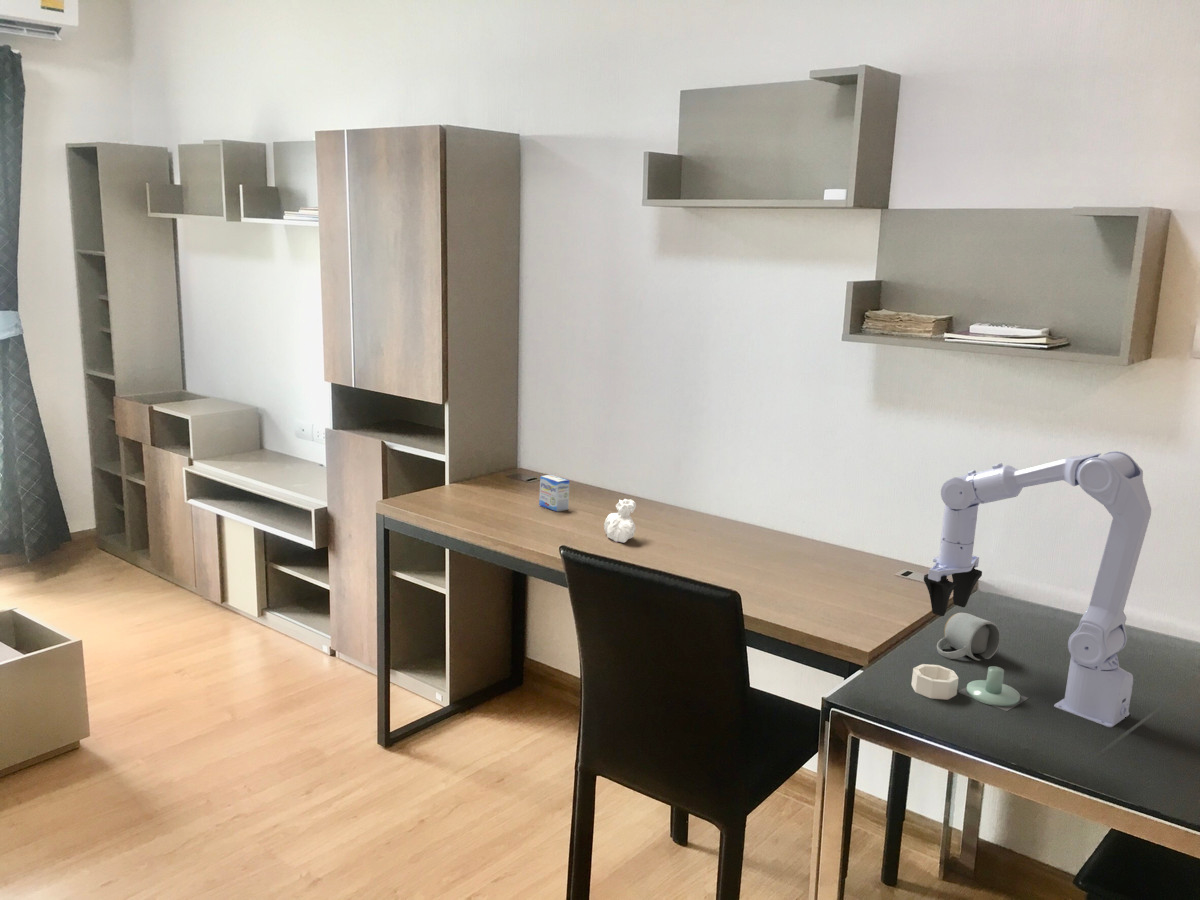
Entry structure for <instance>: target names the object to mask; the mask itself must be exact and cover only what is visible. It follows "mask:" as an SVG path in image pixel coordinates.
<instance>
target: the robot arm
mask: <svg viewBox="0 0 1200 900" xmlns="http://www.w3.org/2000/svg"><path fill="white" fill-rule="evenodd" d="M991 467H992V468H989V469H985V470H981V471H976V470H971V471H970V470H969V471H968V472H967V474H964V475H960V476H954V477H952V478H950V479H948V480H946V481H945V482H944V483H943V484H942V486H941V489H940V497H941V500H942V502H943V503H944V511H943V517H942V527H941V536H940V545H939V551H938V553H939V554H938V556H935V557H933V558H932V562H933V563H934V564H933V566H932V567H931V568H928V573H926V574H924V575H923V582H924V584H925V586H926V588H927V591H928V594H929V598H930V604H931V605H930V606H931V611H932V612H931V613H932V614H934V615H936V616H940V617H945V615H946V613H947V609H948V605H949V600H950V597H951V595H952V594H953V595H952V602H953V605H955V606H957V607H960V608H963V609H964V608H966V606H967V605H968V602H969V599H970V596H971V595H972V592H973V590H974V588H975V587H976V586H975V585H976V584H977V582H978V581H979V579H981V577H982V576H983V571H982V570H981V569H977V568H979V563H980V557H979V556H976V555H974V554H973V552H974V545H975V536H976V528H977V521H978V520H977V519H978V511H979V505H980V504H981V505H983V504H988V503H993V502H994V503H995V502H998V501H1002V500H1003V501H1004V500H1007V499H1013V498H1017V497H1018V496H1019V495H1020V493H1021V491H1022V490H1023V488H1027V487H1033V486H1034V487H1035V486H1039V485H1044V484H1049V483H1054V482H1061V481H1064V482H1066V483H1067V484H1069V485H1071V486H1072V487H1076V486H1080V488H1081V489H1082V491H1084V492H1085V493H1086V494H1087V495H1089V496H1090V497H1092V498H1093V499H1094V500H1095V501H1097V502H1099V504H1101V505H1103V507H1104V508H1105V509H1106V511H1108V513H1109V514H1110V516H1111V517H1112V521H1111V524H1110V527H1109V532H1108V535H1107V539H1106V543H1105V545H1104V550H1103V554H1102V556H1101V561H1100V565H1099V568H1098V572H1097V574H1096V579H1095V582H1094V585H1093V589H1092V592H1091V593H1092V594H1091V597H1090V601H1089V604H1088V607H1087V609H1086V610H1085V612H1084V613H1083V615H1082V616H1081V618H1080V619H1079V624H1078V626H1077V628H1076V629H1075V630H1074V631H1073V632H1072V633H1071V634H1070V636H1069V638H1068V641H1067V649H1068V651H1069V654H1070V659H1069V660H1070V661H1069V667H1068V674H1067V681H1066V686H1065V693H1064V698H1062V699H1061V700H1059V701H1058V702H1056V703H1054V705H1053V707H1054V708H1057V709H1059V710H1061V711H1064V712H1067V713H1070V714H1072V715H1075V716H1078V717H1081V718H1082V719H1083V718H1084V719H1085V720H1088V721H1091V722H1094V723H1097V724H1100V725H1103V726H1104V727H1107V728H1113V727H1114V726H1115V725H1118V723H1121V721H1122V720H1124V719H1126V718H1127V717H1128V716H1129V715H1130V712H1129V710H1130V703H1131V697H1132V692H1133V686H1134V676H1133V673H1131V672H1129V671H1127V670H1125V669H1123V668H1122V667H1120V662H1119V658H1118V653H1119V652H1121V651H1122V650H1123V649H1124V648H1125V646H1126V644H1127V641H1128V637H1127V632H1126V626H1125V625H1126V622H1127V616H1126V614H1125V612H1124V610H1125V608H1126V603H1127V600H1128V598H1129V597H1128V596H1129V593H1130V589H1131V587H1132V583H1133V578H1134V576H1135V573H1136V568H1137V565H1138V561H1139V557H1140V556H1141V555H1140V554H1141V551H1142V547H1143V544H1144V541H1145V537H1146V535H1147V534H1146V533H1147V530H1148V526H1149V523H1150V519H1151V515H1152V507H1151V504H1150V500H1149V497H1148V493H1147V490H1146V487H1145V486H1146V485H1145V484H1144V479H1143V478H1144V471H1143V469H1142V468H1141V467H1140V466H1139V465H1138V463H1137V462H1136V461H1135V460H1134V459H1133V458H1132V457H1131V455H1129V454H1128V453H1126V452H1123V451H1118V450H1117V451H1116V450H1115V451H1113V450H1112V451H1109V452H1107V453H1104V454H1103V455H1102V453H1099V452H1098V453H1091V454H1090V453H1089V454H1082V455H1081V454H1080V455H1074V456H1068V457H1066V458H1062V459H1056V460H1054V461H1050V462H1046V463H1042V464H1039V465H1035V466H1031V467H1027V468H1022V469H1018V468H1015V467H1013V466H1012V465H1009V464H1006V465H1003V463H996V464H992V466H991ZM949 576H952V581H950V580H949V578H948V577H949ZM1125 717H1126V718H1125Z"/></svg>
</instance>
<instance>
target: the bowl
mask: <svg viewBox="0 0 1200 900" xmlns="http://www.w3.org/2000/svg"><path fill="white" fill-rule="evenodd" d="M910 684H911V687H912V689H913V691H914V692H915V693H917V695H918V694H919V695H921V696H924V697H926V698H929V699H935V700H950V699H952V698H954V697H955V696H957V695H958V693H957V692H958V685H959V676H958V675H957V674H956V672H955V671H954V670H952V669H950V668H947V667H944V666H942V665H939V664H927V663H926V664H925V663H922V664H919V665H917V666H915V667H913V668H912V677H911V683H910Z"/></svg>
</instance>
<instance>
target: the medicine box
mask: <svg viewBox="0 0 1200 900" xmlns="http://www.w3.org/2000/svg"><path fill="white" fill-rule="evenodd" d="M539 479H540V480H539V499H538V506H539V507H542V508H544V509H547V510H551V511H554V512H563V511H568V510H569V504H570V503H569V502H570V501H569V500H570V480H568V479H567V478H566V479H565V478H562V477H561V476H556V475H553V474H547V475H541V476H540V478H539Z"/></svg>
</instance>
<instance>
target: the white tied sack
mask: <svg viewBox="0 0 1200 900" xmlns="http://www.w3.org/2000/svg"><path fill="white" fill-rule="evenodd" d="M636 507H637V503H636V502H635V501H634V500H633V499H627V498H624V499H623V500H622V499H618V503H616V504H615V508H616V510H617V512H610V513H609V514H608V515H607V517H606V518H605V520H604V523H603V528H604V532H605V534H606V537H607V538H609V539H610V540H612V541H614V542H616V543H617V542H619V543H626V542H627V541H628V540H630V539H632V538H634V536H635V531H636V530H637V528H636V524H635V522H634V519H632V517H631V514H633V513H634V511H635V509H636Z"/></svg>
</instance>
